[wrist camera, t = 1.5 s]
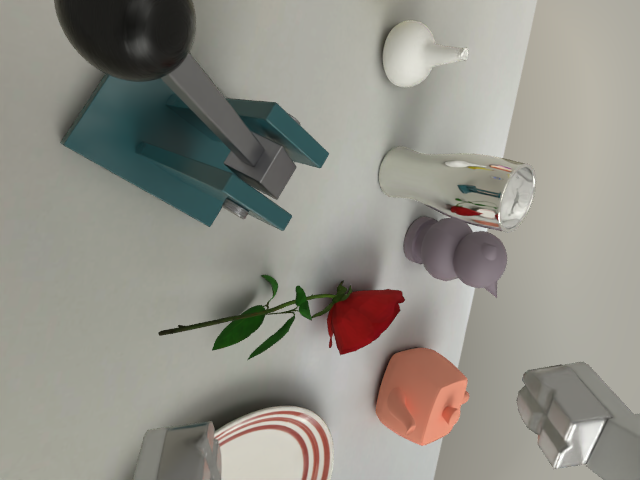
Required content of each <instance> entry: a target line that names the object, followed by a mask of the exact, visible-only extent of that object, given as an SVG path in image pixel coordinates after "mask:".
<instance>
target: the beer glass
mask: <svg viewBox="0 0 640 480" xmlns="http://www.w3.org/2000/svg"><path fill="white" fill-rule="evenodd" d="M379 184H380V188H381V190H382V192H383V193H384V194H385V195H387V196H389V197H393V198H407V199H412V200H415V201H418V202H420V203H422V204H424V205H426V206H428V207H430V208H432V209H434V210H436V211H438V212H440V213H442V214H444V215H446V216H448V217H451V218H453V219H455V220H458V221H461V222H465V223H468V224H472V225H475V226H480V227H484V228H489V229H495V230H500V231H504V232H507V233H508V232H512V231H514V230H515V229H517V228H518V227H519V226H520V225H521V223H522V222H523V220H524V219H525V217H526V215H527V214H528V212H529V209H530V207H531V205H532V201H533V198H534V194H535V188H536V175H535V171H534V169H533V167H532V166H531V165H529V164H525V163H520V162H516V161H512V160H507V159H504V158H499V157H494V156H489V155H481V154H467V153H458V154H424V153H419V152H416V151H414V150H412V149H409V148H407V147H403V146H398V147H395V148H393V149H391V150H390V151H389V152H388V153H387V154H386V156H385V157H384V159H383V161H382V163H381V166H380V170H379Z"/></svg>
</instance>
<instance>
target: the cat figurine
mask: <svg viewBox="0 0 640 480" xmlns="http://www.w3.org/2000/svg"><path fill="white" fill-rule="evenodd" d="M404 253H405V256H406V257H407V258H408V259H409V260H411V261H413V262H415V263H419V264H424V267H425V269H426V270H427V271H428V272H429V274H430V275H431V276H433V277H434V278H437V279H440V280H443V281H449V280H453V279H456V278H459V279H460V280H461V281H462V282H463V283H465V284H466V285H469V286H472V287H475V288H483V287H484V288H485V289H486V290H488V291H489V292H490V293H491V294H493V295H494V296H495V297H497V281H498V280H499V278H500V277H501V276H502V275H503V273H504V271H505V268H506V264H507V254H506V249H505V247H504V245H503V243H502V242H501V241H500V239H498V238H497V237H496V236H494V235H493V234H491V233H488V232H484V231H479V232H472V230H471V228H470V227H469V226H468V224H466V223H465V222H461V221H458V220H455V219H453V218H444V219H441V220H440V221H437V220H435V219H432V218H429V217H425V216H424V217H420V218H418V219H416V220H415V221H414V222H413V223H412V224H411V226H410V228H409V229H408V231H407V233H406V236H405V240H404Z"/></svg>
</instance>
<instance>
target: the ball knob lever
mask: <svg viewBox="0 0 640 480" xmlns="http://www.w3.org/2000/svg"><path fill="white" fill-rule="evenodd" d="M54 3H55V9H56V14H57V17H58V20H59V23H60V25H61V27H62V29H63V31H64V33H65V35H66V37H67V38H68V40H69V42H70V43H71V44H72V45H73V47H74V48H75V49H76V50H77V52H78V53H79V54H80V55H81V56H82V57H83V58H84V59H85V60H86V61H88V62H89V63H90V64H91V65H93V66H94V67H95V68H97V69H99V70H100V71H102V72H104V73H106V74H108V75H110V76H113V77H116V78H118V79H122V80H127V81H132V82H146V81H152V80H156V79H160V78H161V79H162V80H163V81H164V82H165V83H166V84H167V85H168V86H169V87H170V88H171V89H172V91H173V92H174V93H175V94H176V95H177V96H178V97H179V98H180V99H181V100H182V101H183V102H184V103H185V104H186V105H187V106H188V107H189V108H190V109H191V110H192V111H193V112H194V113H195V114H196V115H197V116H198V117H199V118H200V119H201V120H202V121H203V122H204V123H205V124H206V126H207V127H208V128H209V129H210V130H211V131H212V132H213V133H214V134H215V135H216V136H217V137H218V138H219V139H220V140H221V141H222V142H223V143H224V144H225V145H226V146H227V147H228V148H229V149H230V150H231V152H230V153H229V155H228V156H227V158H226V160H225V161H224V165H226V166H227V167H228V168H229V169H230V170H231V171H232V172H233V173H234V174H235V175H236V176H238V177H239V178H240V179H241V180H243V181H244V182H246V183H247V184H249V185H250V186H252V187H254V188H255V189H257V190H259V191H261V192H263V193H265V194H267V195H269V196H270V197H272V198H274V199H276V200H277V199H278V198H279V196H280V194H281V193H282V191H283V189H284V187H285V186H286V184H287V182H288V181H289V179H290V177H291V176H292V174H293V172H294V171H295V169H296V165H295V164H294V162H293V161H292V160H291V158H290V157H289V155H288V154H287V152H286V151H285V149H284V148H283V146H282V145H280V144H278V143H276V142H274V141H271V140H269V139H267V138H265V137H263V136H261V135H259V134H257V133H255V132H253V131H251V130H249V128H248V127H247V126H246V124H245V123H244V122H243V121H242V119H241V118H240V117H239V115H238V114H237V113H236V112H235V110H234V109H233V108H232V106H231V105H230V104H229V103H228V101H227V100H226V99H225V97H224V96H223V95H222V94H221V92H220V91H219V90H218V88H217V87H216V86H215V85H214V83H213V82H212V81H211V79H210V78H209V77H208V76H207V74H206V73H205V72H204V70H203V69H202V68H201V67H200V65H199V64H198V63H197V61H196V60H195V59H194V58H193V56H192V55H191V54H190V53H189V52H190V50H191V47H192V44H193V41H194V37H195V31H196V16H195V9H194V5H193V1H192V0H54Z"/></svg>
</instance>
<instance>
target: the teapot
mask: <svg viewBox="0 0 640 480" xmlns="http://www.w3.org/2000/svg"><path fill="white" fill-rule="evenodd" d="M466 386H467V378H466V377H465V376H464V375H463V374H462V373H461V372H460V371H459V370H458V369H457V368H456V367H455V366H454V365H453V364H452V363H451V362H450V361H449V360H447V359H446V358H445V357H443V356H442V355H440V354H439V353H437V352H436V351H434V350H431V349H427V348H414V349H409V350H405V351H401V352H398V353H396V354H394V355H393V356H392V357H391V359H390V361H389V364H388V366H387V369H386V371H385V374H384V377H383V380H382V383H381V386H380V390H379V394H378V399H377V404H376V414H377V416H378V418H379V420H380V421H381V422H382V424H384V425H385V426H386V427H388V428H389V429H390V430H392V431H393V432H395V433H396V434H398V435H400V436H402V437H404V438H406V439H408V440H410V441H412V442H414V443H416V444H419V445H421V446H423V445H427V444H429V443H431V442H434V441H436V440H438V439H440V438H442V437H443V436H445V435H447V434H448V433H450V431H451V430H452V428H453V425H454V424H455V423H456V422H457V421H458V419H459V417H460V407H461V404H464V403H466V402H467V401H468V399H469V393H468V392H467V391H465V390H466Z"/></svg>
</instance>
